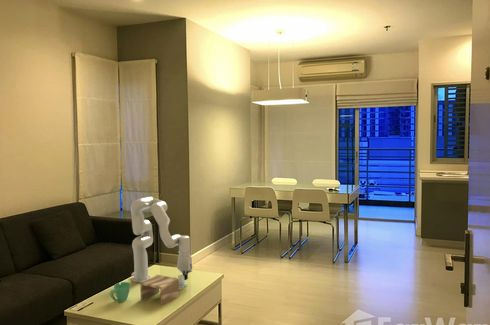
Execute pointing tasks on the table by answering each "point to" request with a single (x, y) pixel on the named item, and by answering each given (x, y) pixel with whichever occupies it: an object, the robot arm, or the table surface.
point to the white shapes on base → (181, 282)
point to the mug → (120, 291)
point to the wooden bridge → (166, 286)
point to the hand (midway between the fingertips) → (185, 279)
